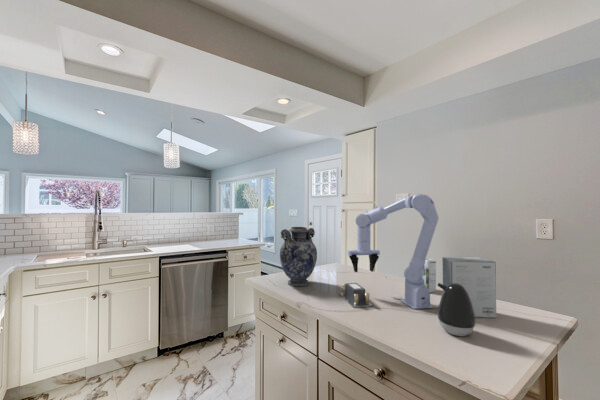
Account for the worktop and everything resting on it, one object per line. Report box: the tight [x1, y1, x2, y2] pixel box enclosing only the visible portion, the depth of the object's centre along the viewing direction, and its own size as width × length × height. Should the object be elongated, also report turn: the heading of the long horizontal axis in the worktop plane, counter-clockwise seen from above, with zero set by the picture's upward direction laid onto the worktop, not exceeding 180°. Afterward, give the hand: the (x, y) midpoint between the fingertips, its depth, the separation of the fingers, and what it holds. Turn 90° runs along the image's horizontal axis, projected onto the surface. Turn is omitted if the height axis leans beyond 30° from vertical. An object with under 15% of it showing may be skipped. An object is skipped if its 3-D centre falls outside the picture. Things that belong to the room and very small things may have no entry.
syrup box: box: [422, 257, 437, 293], centre depth 126 cm, size 6×6×14 cm
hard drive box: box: [442, 256, 498, 319], centre depth 100 cm, size 16×8×20 cm, turn 84°
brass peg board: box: [339, 283, 374, 309], centre depth 112 cm, size 16×8×5 cm, turn 11°
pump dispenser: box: [437, 282, 476, 337], centre depth 85 cm, size 10×10×15 cm
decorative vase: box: [279, 226, 318, 287], centre depth 135 cm, size 21×19×28 cm
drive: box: [345, 282, 366, 303], centre depth 113 cm, size 9×5×5 cm, turn 11°
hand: (363, 271), depth 121 cm, fingers open, 7 cm apart
